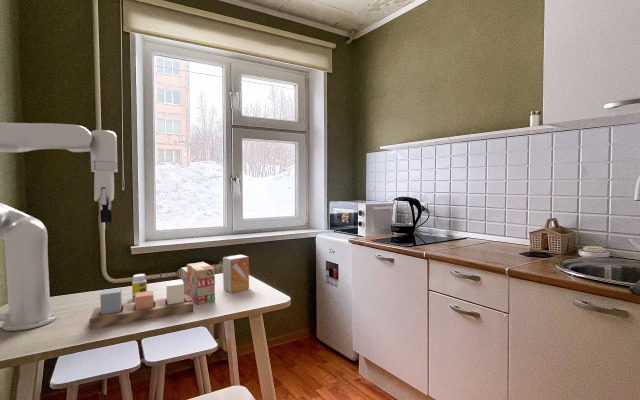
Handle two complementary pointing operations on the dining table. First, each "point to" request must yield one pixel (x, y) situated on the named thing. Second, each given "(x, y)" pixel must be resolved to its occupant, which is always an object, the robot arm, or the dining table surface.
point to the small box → (236, 273)
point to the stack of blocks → (199, 282)
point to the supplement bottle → (139, 284)
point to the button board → (140, 313)
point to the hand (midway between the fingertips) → (106, 221)
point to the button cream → (175, 292)
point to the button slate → (111, 301)
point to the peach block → (144, 300)
